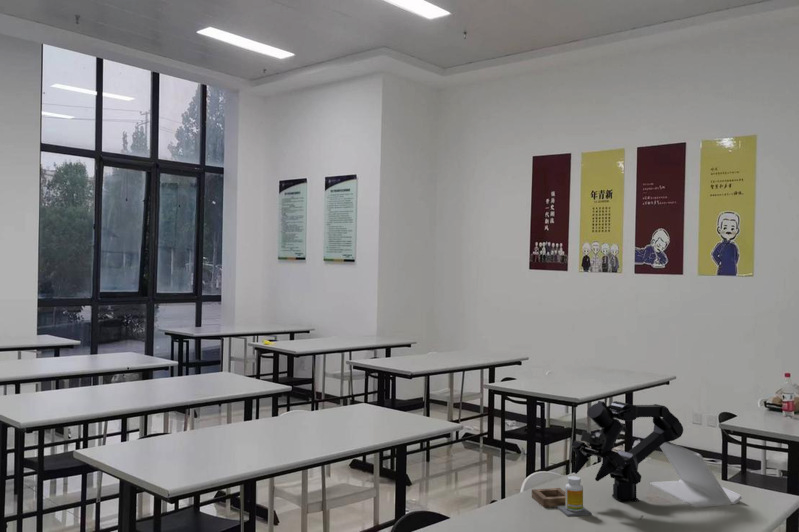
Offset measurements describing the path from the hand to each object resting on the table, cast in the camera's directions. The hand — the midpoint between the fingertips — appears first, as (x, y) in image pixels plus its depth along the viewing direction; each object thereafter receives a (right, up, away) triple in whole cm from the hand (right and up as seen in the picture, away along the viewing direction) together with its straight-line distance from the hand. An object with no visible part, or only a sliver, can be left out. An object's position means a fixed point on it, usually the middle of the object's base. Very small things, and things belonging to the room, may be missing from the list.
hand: (585, 476), depth 212 cm
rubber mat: (-4, -10, -3) cm, 11 cm away
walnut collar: (-9, -10, +6) cm, 15 cm away
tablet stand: (+41, -11, +15) cm, 45 cm away
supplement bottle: (-4, -9, -3) cm, 11 cm away
